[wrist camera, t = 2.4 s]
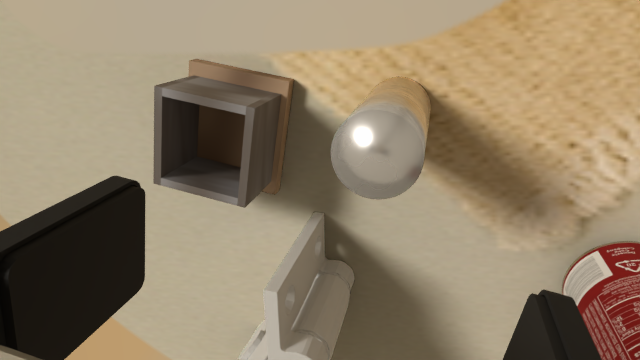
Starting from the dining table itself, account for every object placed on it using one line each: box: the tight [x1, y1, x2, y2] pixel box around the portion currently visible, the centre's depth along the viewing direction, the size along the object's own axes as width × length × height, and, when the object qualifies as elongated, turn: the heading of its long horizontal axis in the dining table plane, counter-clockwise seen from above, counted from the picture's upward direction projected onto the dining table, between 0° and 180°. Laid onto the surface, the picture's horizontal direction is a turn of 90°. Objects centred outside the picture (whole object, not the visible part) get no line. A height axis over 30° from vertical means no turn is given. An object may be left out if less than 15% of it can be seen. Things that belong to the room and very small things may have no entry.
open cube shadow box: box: [154, 59, 294, 208], centre depth 29 cm, size 7×8×6 cm
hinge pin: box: [331, 77, 431, 199], centre depth 24 cm, size 4×4×10 cm
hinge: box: [238, 212, 355, 360], centre depth 30 cm, size 14×5×10 cm, turn 156°
